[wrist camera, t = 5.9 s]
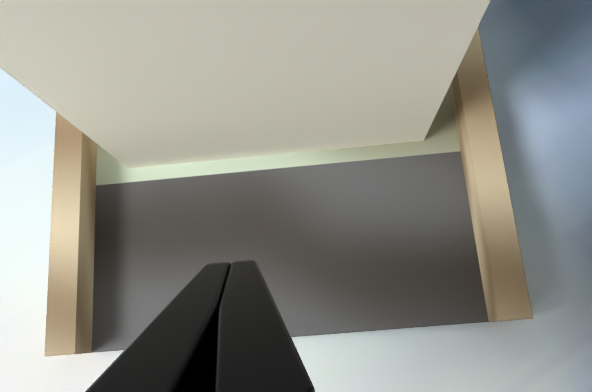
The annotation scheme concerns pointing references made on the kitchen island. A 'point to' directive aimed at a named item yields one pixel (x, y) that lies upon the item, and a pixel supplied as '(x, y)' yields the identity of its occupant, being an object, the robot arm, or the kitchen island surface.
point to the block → (238, 71)
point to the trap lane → (293, 230)
